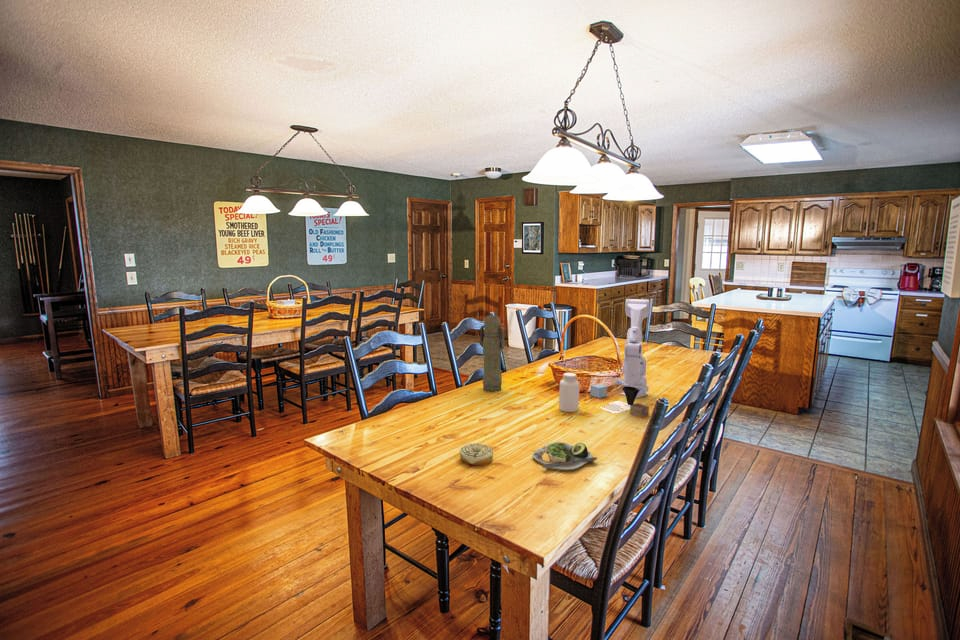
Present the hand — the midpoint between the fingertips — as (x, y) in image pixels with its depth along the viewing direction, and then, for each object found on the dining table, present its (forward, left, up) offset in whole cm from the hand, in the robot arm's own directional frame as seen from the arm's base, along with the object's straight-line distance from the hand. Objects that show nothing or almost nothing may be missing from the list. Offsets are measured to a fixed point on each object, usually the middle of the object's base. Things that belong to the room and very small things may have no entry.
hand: (630, 404), depth 190 cm
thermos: (+27, -57, -3) cm, 64 cm away
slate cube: (-5, -21, -3) cm, 22 cm away
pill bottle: (+18, -17, -3) cm, 25 cm away
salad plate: (+52, +14, -4) cm, 54 cm away
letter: (0, -7, -3) cm, 7 cm away
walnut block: (0, +4, -3) cm, 6 cm away
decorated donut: (+75, -2, -4) cm, 75 cm away
